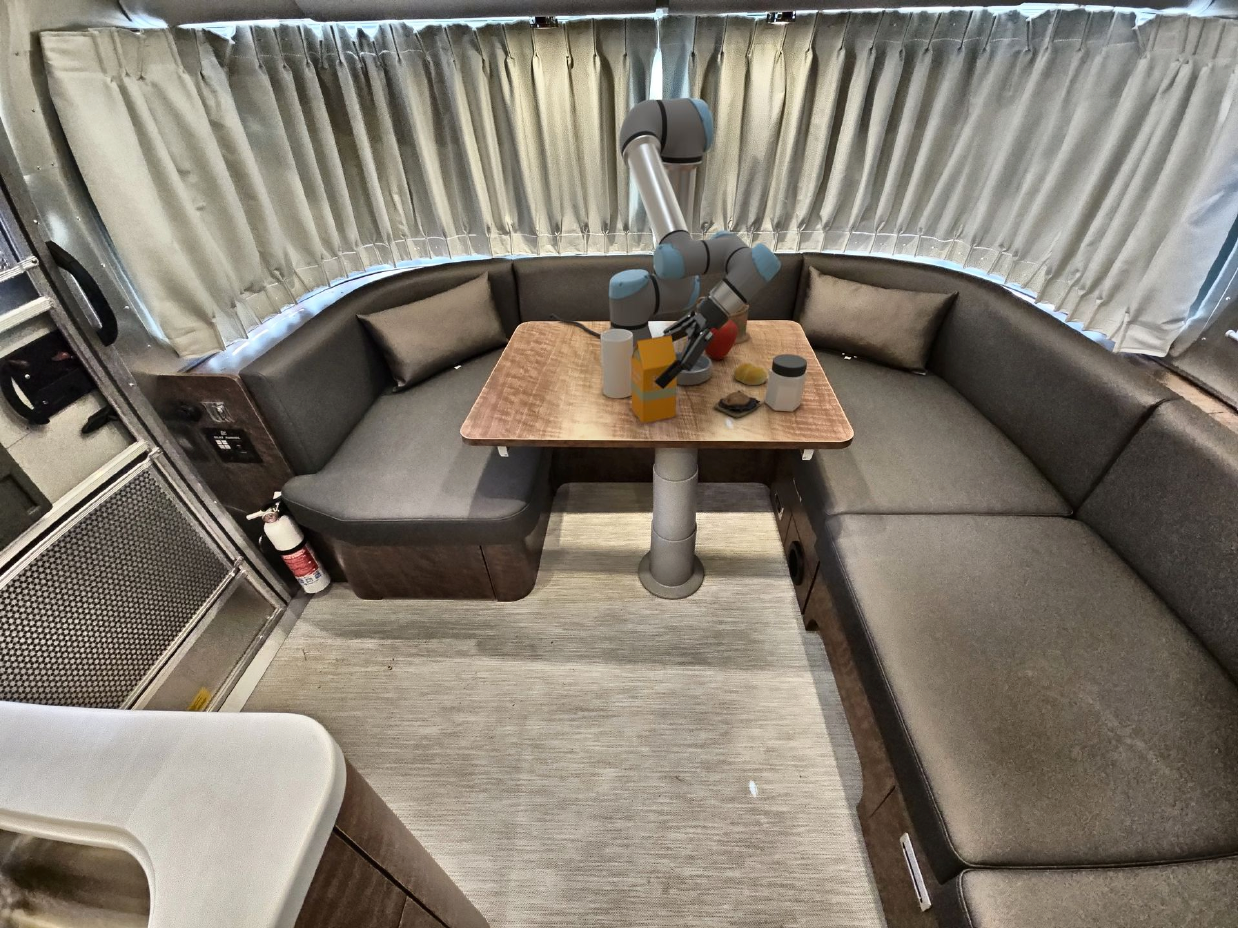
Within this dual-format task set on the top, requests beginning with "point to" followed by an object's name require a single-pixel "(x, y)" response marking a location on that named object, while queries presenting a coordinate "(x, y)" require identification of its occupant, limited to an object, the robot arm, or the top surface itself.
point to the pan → (695, 371)
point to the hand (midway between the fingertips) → (653, 372)
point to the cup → (616, 362)
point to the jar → (786, 382)
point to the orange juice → (652, 379)
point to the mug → (738, 322)
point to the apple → (722, 340)
